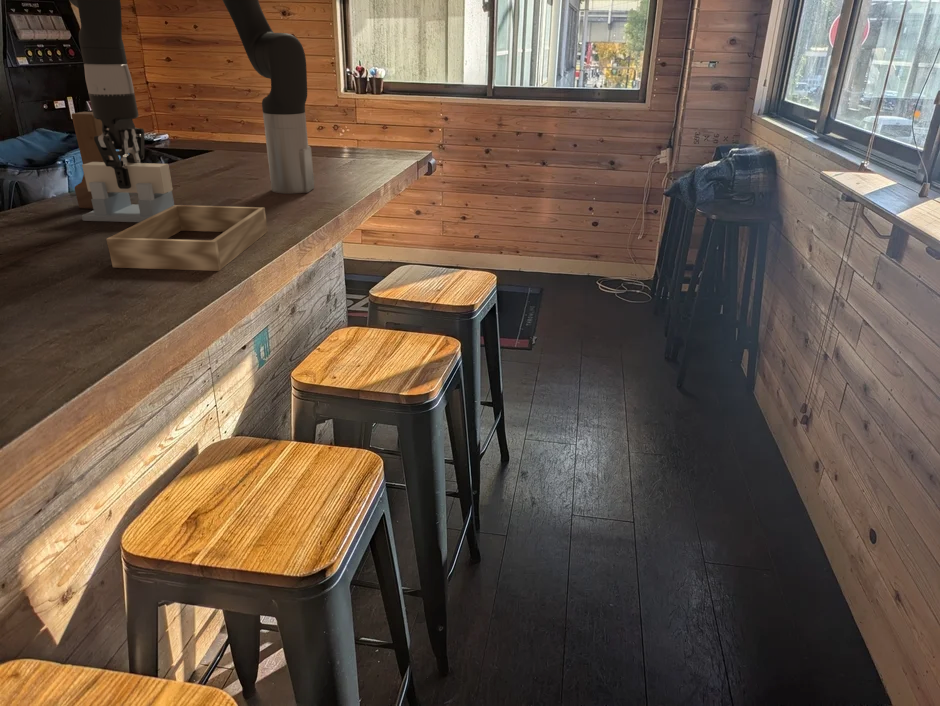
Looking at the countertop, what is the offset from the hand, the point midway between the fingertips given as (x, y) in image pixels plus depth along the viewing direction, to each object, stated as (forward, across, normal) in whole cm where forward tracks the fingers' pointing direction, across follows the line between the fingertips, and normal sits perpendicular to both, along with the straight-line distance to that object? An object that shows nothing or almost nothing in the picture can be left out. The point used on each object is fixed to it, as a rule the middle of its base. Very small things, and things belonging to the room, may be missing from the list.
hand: (130, 185), depth 126 cm
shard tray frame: (+6, -20, -21) cm, 30 cm away
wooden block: (+6, +9, +12) cm, 16 cm away
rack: (+6, 0, 0) cm, 6 cm away
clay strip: (+1, 0, 0) cm, 1 cm away
